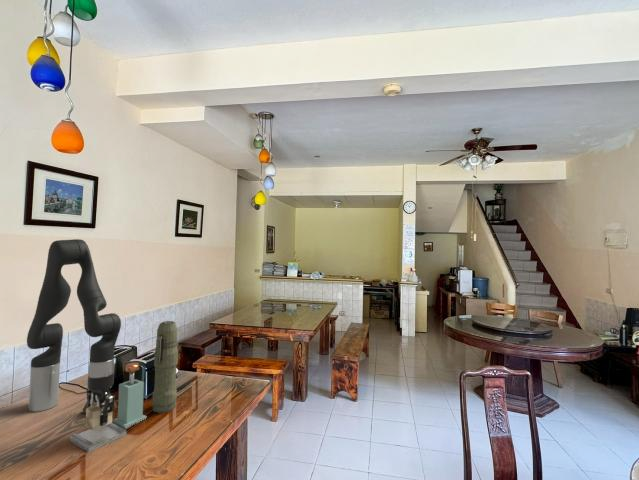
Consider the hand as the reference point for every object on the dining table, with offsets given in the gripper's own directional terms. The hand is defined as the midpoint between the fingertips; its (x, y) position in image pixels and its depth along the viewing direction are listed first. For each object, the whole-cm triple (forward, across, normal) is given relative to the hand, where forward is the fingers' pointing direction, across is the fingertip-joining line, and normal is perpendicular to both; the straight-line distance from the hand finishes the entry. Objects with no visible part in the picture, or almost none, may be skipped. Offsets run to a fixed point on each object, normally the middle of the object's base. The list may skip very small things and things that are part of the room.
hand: (99, 422), depth 112 cm
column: (+5, -2, +12) cm, 13 cm away
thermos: (+5, 0, +25) cm, 26 cm away
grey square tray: (+5, 0, 0) cm, 5 cm away
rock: (+5, -20, +10) cm, 23 cm away
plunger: (-3, -2, +12) cm, 13 cm away
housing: (+1, 0, 0) cm, 1 cm away
